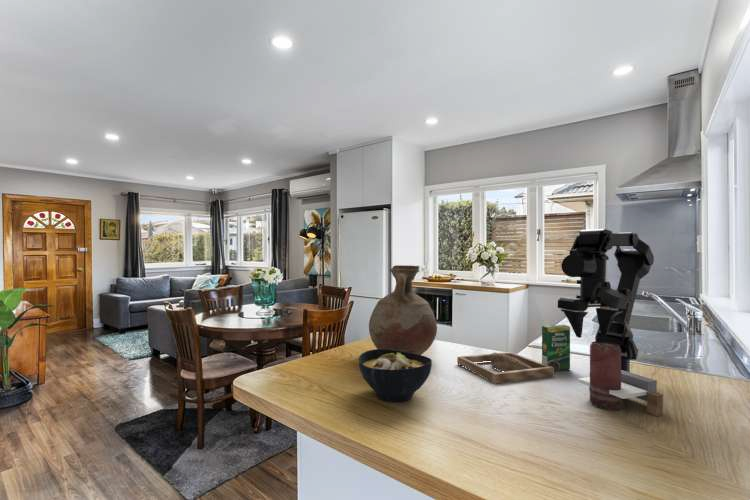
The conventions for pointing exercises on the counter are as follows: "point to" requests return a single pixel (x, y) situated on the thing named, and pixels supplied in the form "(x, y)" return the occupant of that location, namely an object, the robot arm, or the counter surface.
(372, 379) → the bowl
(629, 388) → the trapdoor
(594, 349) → the can
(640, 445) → the counter surface
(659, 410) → the frame
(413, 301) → the jug
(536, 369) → the wooden tray
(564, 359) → the coffee box
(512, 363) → the oyster shell
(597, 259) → the robot arm
